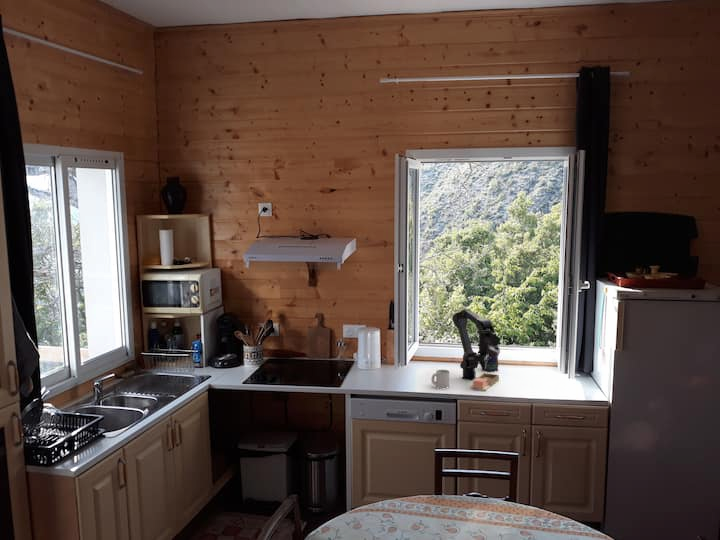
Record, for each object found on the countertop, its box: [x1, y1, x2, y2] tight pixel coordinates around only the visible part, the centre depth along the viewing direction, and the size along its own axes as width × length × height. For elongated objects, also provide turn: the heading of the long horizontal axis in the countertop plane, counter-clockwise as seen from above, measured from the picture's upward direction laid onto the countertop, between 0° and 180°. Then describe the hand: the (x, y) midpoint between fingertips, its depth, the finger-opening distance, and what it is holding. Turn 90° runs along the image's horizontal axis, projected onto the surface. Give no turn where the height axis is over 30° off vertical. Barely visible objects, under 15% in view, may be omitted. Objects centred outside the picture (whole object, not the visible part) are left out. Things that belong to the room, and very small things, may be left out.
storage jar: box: [481, 344, 499, 373], centre depth 369 cm, size 10×10×15 cm
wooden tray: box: [470, 372, 500, 392], centre depth 341 cm, size 9×23×3 cm, turn 149°
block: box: [472, 377, 486, 389], centre depth 333 cm, size 6×6×4 cm
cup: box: [431, 369, 450, 389], centre depth 336 cm, size 7×10×9 cm
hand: (483, 369), depth 338 cm, fingers closed
